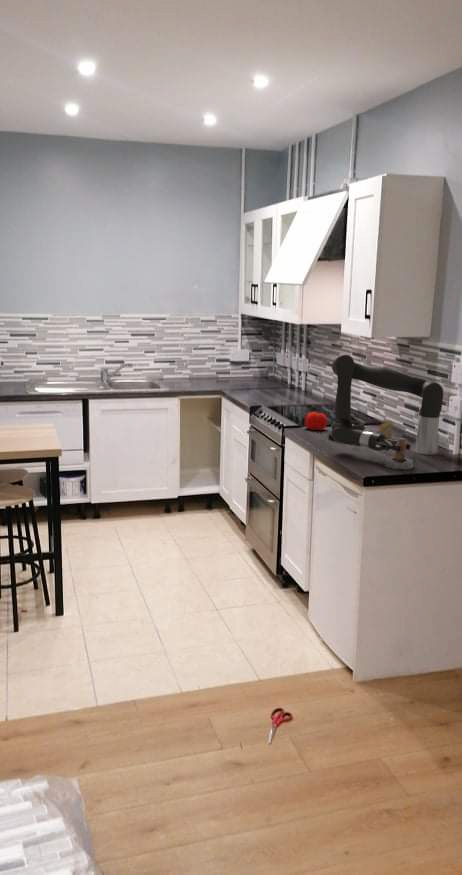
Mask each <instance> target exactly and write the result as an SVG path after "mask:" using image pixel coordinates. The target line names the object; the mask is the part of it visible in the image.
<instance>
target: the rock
mask: <svg viewBox="0 0 462 875" xmlns="http://www.w3.org/2000/svg"><path fill="white" fill-rule="evenodd" d="M393 426H394V424H393V421H392V420H391V421H390V420H387V421H385V422H382V423H381V425H380V427H379V428H378V431H377V432H376V433H379V434H383V435H384V436H385V437H386V440H387V439H391V440H392V439H393V438H392V437H393V436H392V433H393V428H394V427H393Z"/></svg>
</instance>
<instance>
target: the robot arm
mask: <svg viewBox="0 0 462 875" xmlns="http://www.w3.org/2000/svg"><path fill="white" fill-rule="evenodd" d="M331 370H332V372H333V373H334V375H335V376H337V389H336V396H335V403H334V418H335V421H336V420H337V421H338V422H339V423H340V426H338V427H335V428H334V429H333V430H332V429H331V430H332V433H331V435H332V437H331V438H332V439H333V440H334V441H335V442H338V443H341V444H343V443H344V444H350V445H354V446H357V447H362V448H365V449H368V450H372V451H376V452H382V451H386V452H387V451H395V452H396V451H399V452H400V451H401V446H397V445H396V444H397V438H391V439H387V440H386V437H385V436H384V435H383V434H379V433H377V432H375V431H374V432H373V431H367V430H364V431H361V430H353V426H352V421H353V420H352V417H351V414H352V413H351V411H352V409H351V408H352V406H351V405H352V404H351V403H352V401H351V400H352V399H351V398H352V395H351V393H352V384H353V380H357V381H361V382H364V383H366V384H369V385H372V386H376V387H378V388H382V389H385V390H389V391H394V392H400V393H401V392H402V393H404V392H405V393H408V394H411V395H414V396H417V397H419V398H421V407H420V409H419V410H418V422H417V429H416V431H417V432H416V440H415V442H416V443H415V449H414V450H415V451H414V453H417V454H419V455H426V456H428V455H429V456H431V455H438V452H439V451H438V450H439V443H440V442H439V441H440V433H439V426H440V417H441V415H440V414H441V412H442V408H443V399H444V389H443V387H442V385H441V384H439V382H436V381H433V380H429V379H424V378H423V379H422V378H418V377H413V376H410V375H407V374H406V373H403V372H401V371H398V370H396V369H395V370H394V369H393V368H392V369H391V368H388V367H383V366H379V365H378V366H377V365H366V364H361V363H357V362H355V360H354V358H353V357H352V356H351V355H349V354H345V353H342V354H340V355H338V356H337V357H336V358H334V360H333V361H332V363H331ZM351 420H352V421H351ZM406 450H411V444H410V443H406Z"/></svg>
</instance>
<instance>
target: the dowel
mask: <svg viewBox="0 0 462 875" xmlns="http://www.w3.org/2000/svg"><path fill="white" fill-rule="evenodd" d="M396 440H397V444H396V445H397V446H401V451H400V452H399V451H395V452H394V454H395V455H394V457H395V461H404V458H406V457H405V456H406V450H407V449H406V444H408V442H407V441H408V439H407V438H402V437H397V438H396Z"/></svg>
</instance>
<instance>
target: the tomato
mask: <svg viewBox="0 0 462 875" xmlns="http://www.w3.org/2000/svg"><path fill="white" fill-rule="evenodd" d="M304 425H305V427H306V428H308V429H309V430H311V431H319V430H320V431H322V430H324V429H325V428H326V427H327V426H328V417H327V416H326V415H325V414H324V413H321V412H317V411H312V412H308V413H307V414H306V416H305V418H304Z"/></svg>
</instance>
